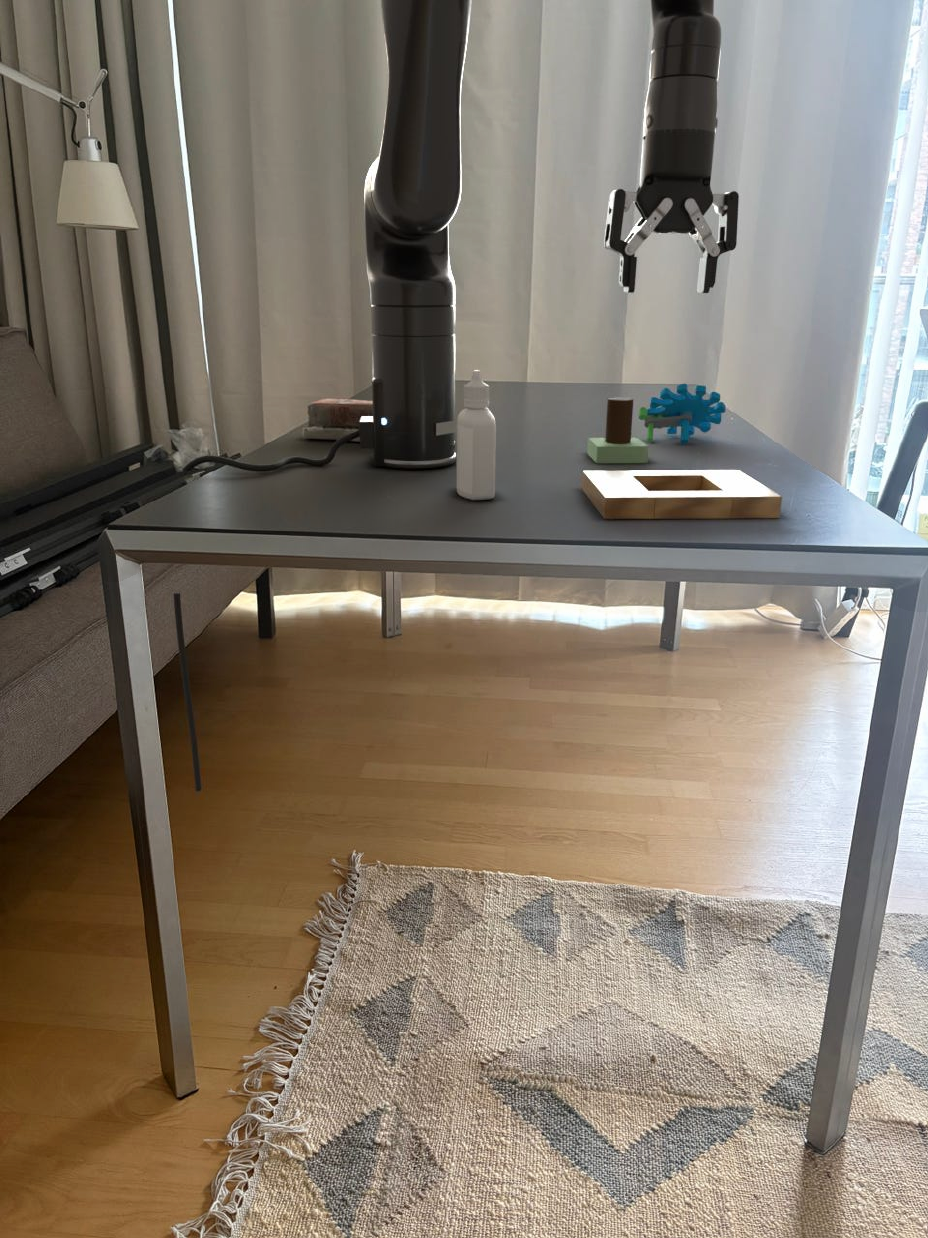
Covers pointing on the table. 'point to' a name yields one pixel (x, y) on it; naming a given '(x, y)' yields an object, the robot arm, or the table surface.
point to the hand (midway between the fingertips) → (665, 292)
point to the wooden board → (679, 494)
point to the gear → (682, 412)
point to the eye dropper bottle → (476, 443)
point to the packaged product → (335, 418)
